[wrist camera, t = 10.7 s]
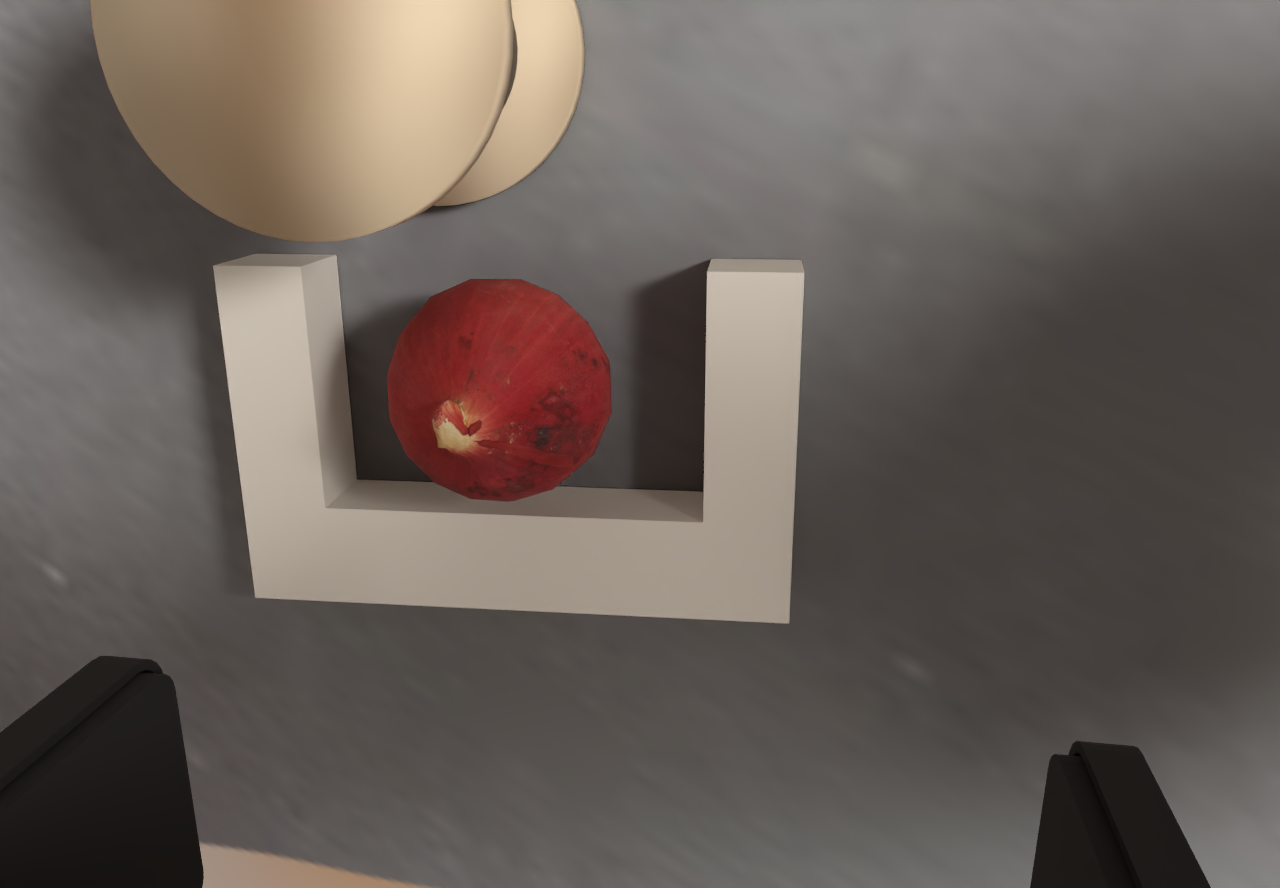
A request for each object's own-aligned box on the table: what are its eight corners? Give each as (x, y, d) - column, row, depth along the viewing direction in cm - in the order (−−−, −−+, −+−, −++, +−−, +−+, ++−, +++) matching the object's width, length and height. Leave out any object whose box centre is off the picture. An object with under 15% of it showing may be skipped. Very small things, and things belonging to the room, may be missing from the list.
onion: (657, 308, 30) (621, 373, 22) (587, 479, 32) (531, 594, 24) (470, 229, 30) (371, 269, 22) (410, 406, 32) (300, 498, 24)
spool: (581, -114, 27) (490, -227, 18) (588, 203, 29) (510, 244, 20) (285, -105, 28) (56, -209, 19) (314, 202, 30) (124, 240, 21)
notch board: (801, 259, 29) (804, 272, 27) (787, 585, 32) (789, 623, 30) (255, 253, 31) (212, 265, 29) (290, 563, 34) (255, 597, 32)
